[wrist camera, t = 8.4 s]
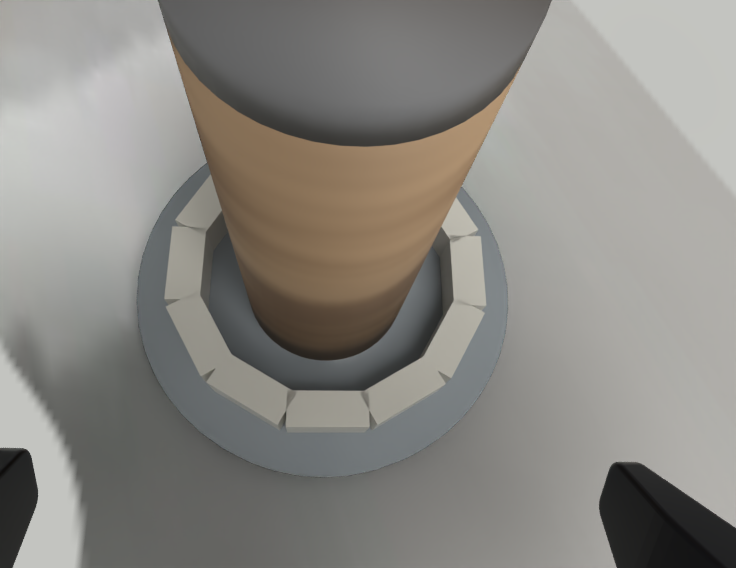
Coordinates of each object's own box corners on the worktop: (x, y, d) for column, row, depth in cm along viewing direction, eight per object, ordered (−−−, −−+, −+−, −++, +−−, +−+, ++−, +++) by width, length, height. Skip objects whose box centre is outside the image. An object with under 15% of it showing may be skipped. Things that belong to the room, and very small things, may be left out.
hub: (513, 476, 19) (543, 473, 16) (122, 479, 18) (94, 476, 15) (485, 149, 23) (505, 109, 20) (165, 134, 22) (148, 90, 19)
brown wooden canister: (410, 356, 19) (594, 103, 7) (249, 365, 18) (132, 107, 6) (393, 197, 20) (513, -224, 8) (247, 201, 20) (153, -245, 8)
